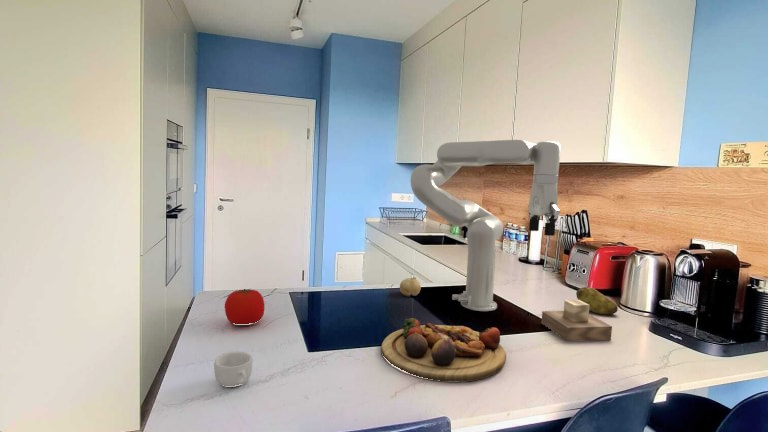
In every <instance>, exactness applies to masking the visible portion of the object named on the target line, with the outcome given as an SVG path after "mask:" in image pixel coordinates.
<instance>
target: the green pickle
mask: <svg viewBox="0 0 768 432" xmlns="http://www.w3.org/2000/svg"><path fill="white" fill-rule="evenodd" d="M576 299H577V300H581V301H583V302H585V303H587V304H589V305H590V307H589V312H590V311H591V312H592V313H596V314H598V315H607V316H608V315H614V314H616V313H617V312H618V311H619V310H618V304H617V303H616V302H615V301H613V300H612V299H610V298H609V297H608V296H605V295H604V294H603V293H601V292H600V291H598V290H596V289H595V288H593V287H590V286H589V287H588V286H585V287H581V288H578V289H577V291H576Z"/></svg>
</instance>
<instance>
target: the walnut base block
mask: <svg viewBox="0 0 768 432" xmlns="http://www.w3.org/2000/svg"><path fill="white" fill-rule="evenodd" d="M563 313H564V310H542V311H541V325H543V326H544V325H545V327H546V328H547V327H548V328H547V329H549V330H550V329H551V330H550V331H551V332H553V331H554V332H553V333H555V334H556V333H557V334H558V336H559V335H560V336H561V337H560V336H559V337H560V338H562V339H563V338H564V339H563V340H565V341H566V342H578V341H580V340H581V342H582V341H583V340H586V341H611V340H612V331H613V326H612V325H610V324H608V323H606V322H604V321H603V320H601V319H599V318H597V317H595V316H593V315H591V314H590V313H589V318H588V321H577V322H573V321H571V320H569V319H568V318H566V317H564V316H563ZM557 334H556V335H557ZM583 342H584V341H583Z"/></svg>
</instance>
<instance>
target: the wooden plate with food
mask: <svg viewBox="0 0 768 432" xmlns="http://www.w3.org/2000/svg"><path fill="white" fill-rule="evenodd" d="M500 343H501V332H500V330H499V329H498V328H497V327H490V328H485V330H481V332H479V331H475V330H473V329H472V328H470V327H468V326H464V325H444V324H443V325H442V324H432V323H430V322H426V323H425V324H424V325H421V323H420V321H419V320H418V319H417V318H415V317H412V318H405V319H404V322H403V323H402V325H401V329H398V330H396V331H393V332H392V333H390V334H388V335H387V336H386V337H385V338H384V339H383V341H382V343H381V347H380V353H381V352H382V353H381V355H382V354H383V356H384V357H385V358H386V359H387V360H388V361H389V362H390V363H391V364H393V365H394V366H396V367H398V368H400V369H401V370H404V371H406V372H408V373H410V374H413V375H416V376H419V377H423V378H428V379H433V380H432V381H434V380H440V381H439V382H443V381H460V382H459V383H461V381H466V382H474V381H478V380H482V379H485V378H488V377H491V376H493V375H495V374H496V373H498V372H499V371H501V370H502V369H503V367H504V366H505V364H506V363H507V352H506V351H505V349H504V347H503V346H502V344H500ZM383 356H382V357H383ZM384 357H383V358H384ZM473 380H474V381H473Z"/></svg>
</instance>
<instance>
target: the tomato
mask: <svg viewBox="0 0 768 432" xmlns="http://www.w3.org/2000/svg"><path fill="white" fill-rule="evenodd" d="M224 301H225V302H224V313H225V317H226V318H227V319H226V320H228V321H230V322H231V323H230V322H229V323H230V324H232V323H235V324H249V323H255V322H257V321H258V322H260V321H261V320H260V319H262V318H263V316H264V314H265V300H264V298H263V294H262V293H261V292H259V291H258V290H255V289H251V288H248V289H246V288H244V289H237V290H234V291H232V292H231V293H230V294H229V295H228V296H227V298H226V300H224ZM259 320H260V321H259ZM258 322H257V323H258ZM255 324H256V323H255Z"/></svg>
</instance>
